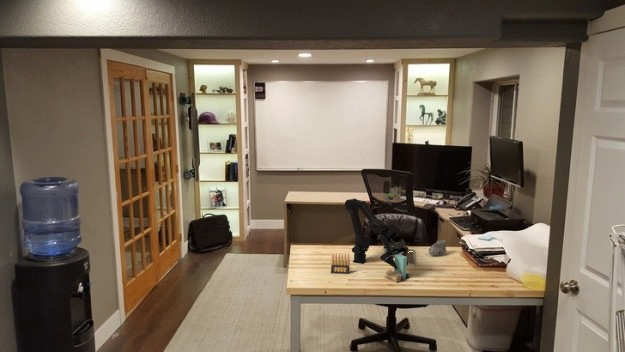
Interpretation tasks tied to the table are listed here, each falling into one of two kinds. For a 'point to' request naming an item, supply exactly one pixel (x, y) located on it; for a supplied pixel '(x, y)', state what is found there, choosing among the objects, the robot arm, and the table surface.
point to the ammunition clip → (339, 267)
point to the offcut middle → (392, 276)
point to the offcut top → (394, 274)
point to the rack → (403, 278)
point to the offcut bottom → (393, 279)
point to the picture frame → (409, 256)
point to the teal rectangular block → (401, 264)
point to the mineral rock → (438, 248)
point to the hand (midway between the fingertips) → (402, 266)
